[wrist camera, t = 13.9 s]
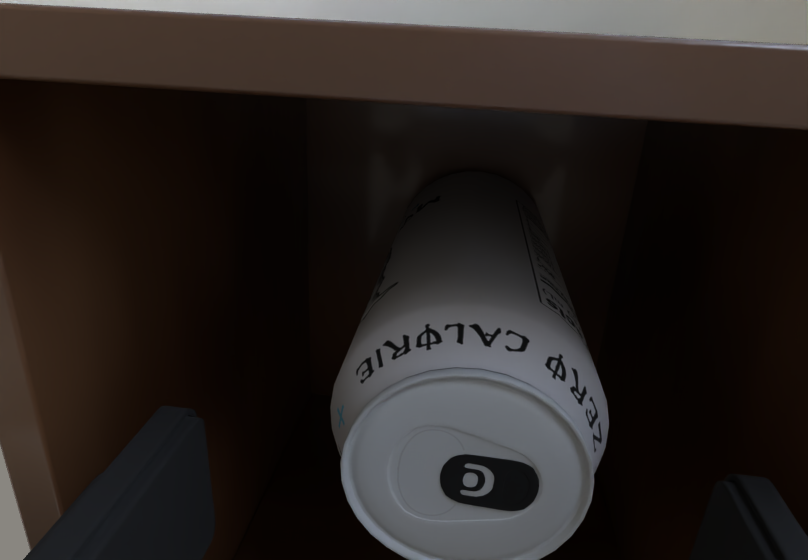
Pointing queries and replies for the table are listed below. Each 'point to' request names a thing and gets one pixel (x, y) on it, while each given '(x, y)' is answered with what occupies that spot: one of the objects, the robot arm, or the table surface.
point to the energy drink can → (470, 385)
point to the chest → (371, 242)
